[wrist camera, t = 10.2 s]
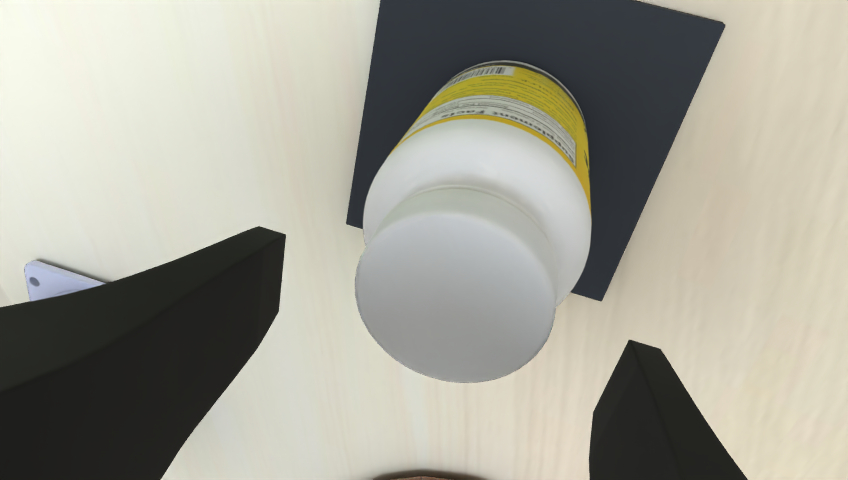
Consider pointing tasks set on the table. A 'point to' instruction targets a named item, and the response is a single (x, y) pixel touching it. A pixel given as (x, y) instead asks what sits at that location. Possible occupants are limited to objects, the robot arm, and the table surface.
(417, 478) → the glazed bowl
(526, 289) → the supplement bottle
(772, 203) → the table surface
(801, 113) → the table surface
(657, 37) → the coaster
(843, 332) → the table surface
